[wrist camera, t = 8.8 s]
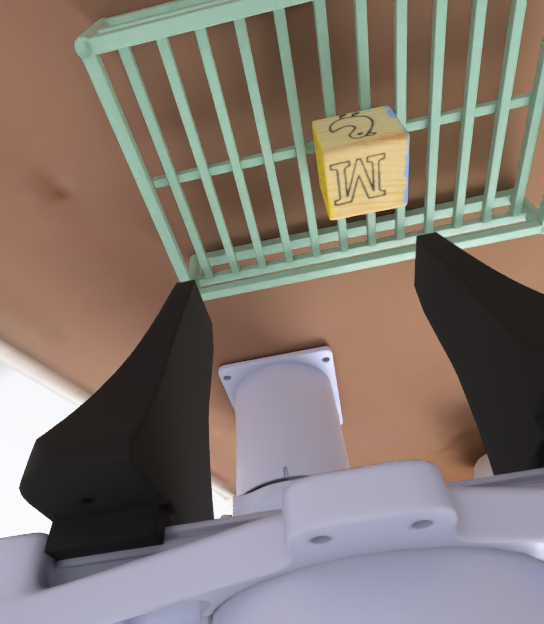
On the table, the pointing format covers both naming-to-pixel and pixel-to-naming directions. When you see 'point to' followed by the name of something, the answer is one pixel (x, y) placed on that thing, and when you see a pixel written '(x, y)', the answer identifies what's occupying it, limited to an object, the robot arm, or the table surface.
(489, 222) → the rack
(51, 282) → the table surface
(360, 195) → the alphabet block
